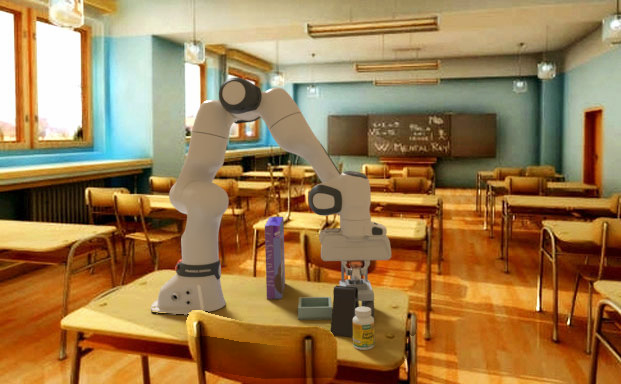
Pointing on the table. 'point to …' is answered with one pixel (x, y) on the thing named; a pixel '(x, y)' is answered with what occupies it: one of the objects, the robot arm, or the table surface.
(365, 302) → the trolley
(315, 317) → the bin
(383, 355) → the table surface
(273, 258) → the cereal box
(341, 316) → the phone stand
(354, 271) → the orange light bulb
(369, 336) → the supplement bottle
